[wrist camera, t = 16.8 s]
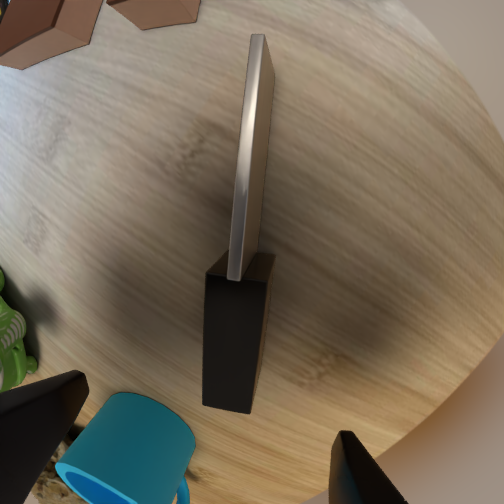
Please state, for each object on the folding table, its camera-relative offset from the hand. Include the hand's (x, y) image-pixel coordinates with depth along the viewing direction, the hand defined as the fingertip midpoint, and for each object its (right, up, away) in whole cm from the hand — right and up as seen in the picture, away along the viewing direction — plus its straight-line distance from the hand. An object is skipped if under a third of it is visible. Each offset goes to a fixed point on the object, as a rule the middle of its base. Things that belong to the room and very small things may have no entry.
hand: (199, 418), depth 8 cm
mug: (-6, -11, +12) cm, 17 cm away
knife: (+2, +6, +6) cm, 9 cm away
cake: (-12, +23, +4) cm, 27 cm away
